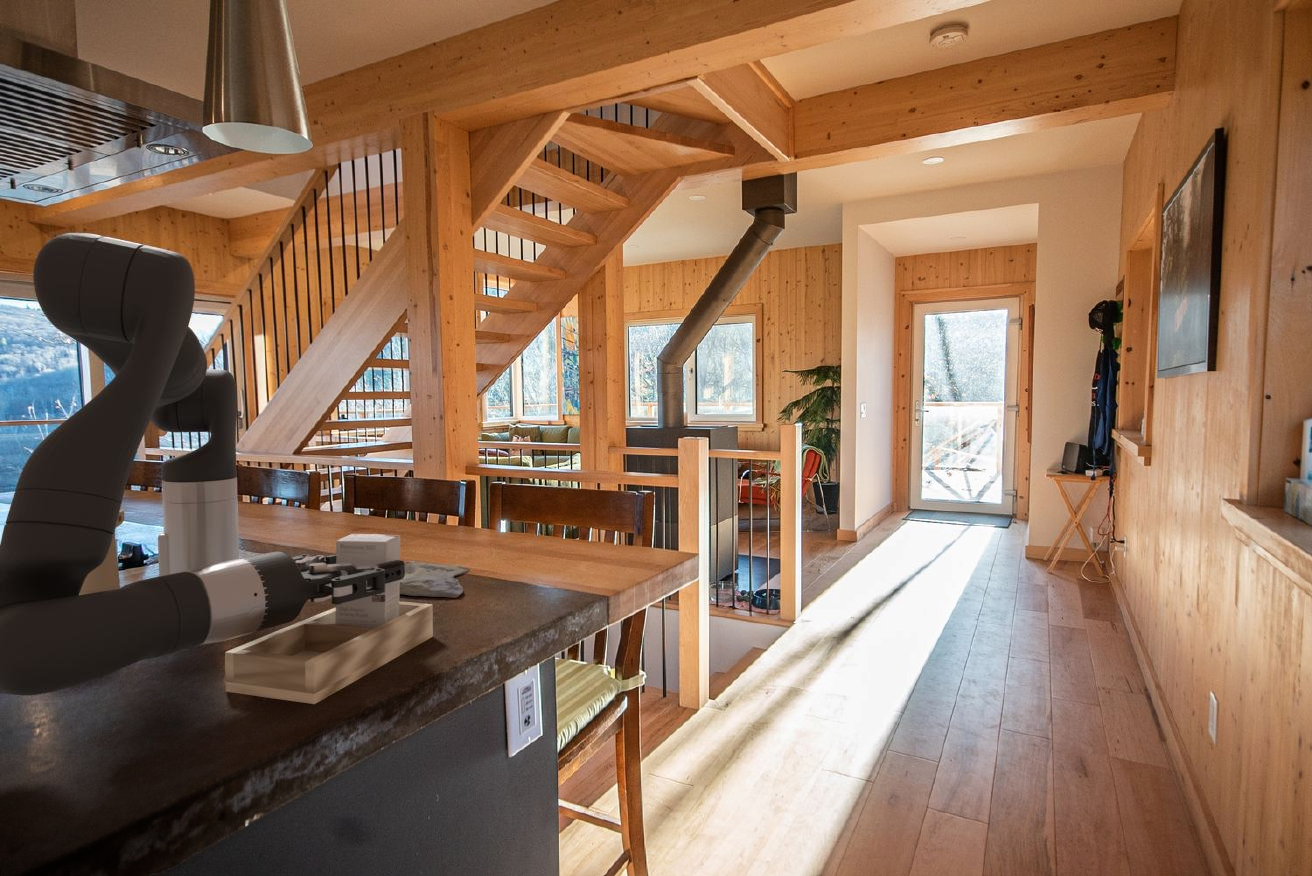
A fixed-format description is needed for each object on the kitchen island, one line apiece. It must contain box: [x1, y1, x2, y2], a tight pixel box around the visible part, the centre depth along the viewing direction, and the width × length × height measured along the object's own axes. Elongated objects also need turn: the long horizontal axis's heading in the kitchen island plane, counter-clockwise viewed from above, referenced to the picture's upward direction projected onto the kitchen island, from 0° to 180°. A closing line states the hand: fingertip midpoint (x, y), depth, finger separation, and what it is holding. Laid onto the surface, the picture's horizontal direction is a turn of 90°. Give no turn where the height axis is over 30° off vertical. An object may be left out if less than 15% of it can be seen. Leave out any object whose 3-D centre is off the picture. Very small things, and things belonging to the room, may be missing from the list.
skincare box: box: [335, 533, 402, 628], centre depth 82 cm, size 6×4×12 cm
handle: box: [79, 508, 125, 595], centre depth 86 cm, size 5×6×15 cm
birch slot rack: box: [224, 600, 434, 705], centre depth 78 cm, size 20×10×4 cm, turn 165°
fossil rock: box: [399, 560, 471, 599], centre depth 112 cm, size 18×15×2 cm
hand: (377, 564), depth 84 cm, fingers open, 8 cm apart
